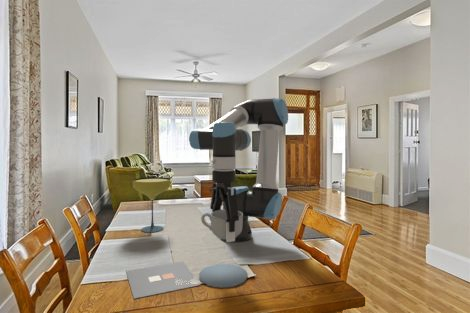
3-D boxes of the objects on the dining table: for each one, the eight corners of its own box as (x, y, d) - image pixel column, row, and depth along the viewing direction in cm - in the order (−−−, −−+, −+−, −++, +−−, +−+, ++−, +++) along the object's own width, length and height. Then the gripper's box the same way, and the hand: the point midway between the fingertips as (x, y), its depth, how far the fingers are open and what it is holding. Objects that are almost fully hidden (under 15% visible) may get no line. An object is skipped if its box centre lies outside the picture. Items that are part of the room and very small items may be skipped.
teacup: (247, 233, 106) (247, 210, 106) (236, 243, 96) (236, 218, 96) (209, 229, 111) (209, 207, 111) (196, 238, 101) (196, 214, 100)
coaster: (192, 270, 107) (192, 268, 107) (234, 263, 114) (234, 261, 114) (209, 292, 93) (209, 289, 93) (255, 281, 100) (255, 279, 100)
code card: (126, 271, 107) (126, 270, 107) (182, 261, 115) (182, 261, 115) (133, 299, 89) (133, 298, 89) (200, 285, 97) (200, 284, 97)
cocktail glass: (166, 235, 146) (165, 182, 144) (127, 234, 146) (127, 182, 144) (174, 224, 164) (174, 177, 162) (140, 224, 164) (139, 176, 162)
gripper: (201, 166, 110) (201, 228, 112) (227, 174, 89) (227, 249, 91) (220, 166, 113) (220, 225, 115) (250, 173, 92) (249, 245, 94)
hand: (223, 236), depth 103 cm, fingers closed on teacup, 11 cm apart
